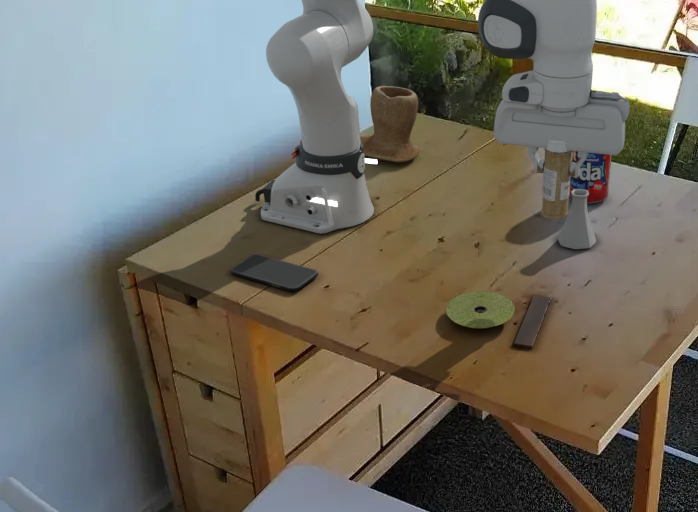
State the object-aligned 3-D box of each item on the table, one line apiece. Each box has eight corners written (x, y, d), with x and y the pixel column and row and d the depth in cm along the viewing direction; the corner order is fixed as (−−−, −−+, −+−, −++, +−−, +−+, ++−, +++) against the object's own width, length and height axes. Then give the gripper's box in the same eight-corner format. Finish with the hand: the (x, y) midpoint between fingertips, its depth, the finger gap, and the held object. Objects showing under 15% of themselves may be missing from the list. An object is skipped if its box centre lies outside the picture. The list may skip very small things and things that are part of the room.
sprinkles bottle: (572, 218, 152) (578, 139, 144) (545, 221, 151) (550, 142, 143) (563, 206, 155) (568, 128, 147) (536, 209, 154) (540, 131, 146)
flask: (594, 252, 172) (598, 202, 166) (555, 249, 173) (558, 199, 167) (597, 234, 178) (601, 185, 172) (559, 231, 179) (562, 182, 173)
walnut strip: (513, 346, 148) (513, 343, 147) (533, 298, 159) (533, 295, 159) (532, 349, 147) (532, 345, 147) (551, 300, 158) (551, 297, 158)
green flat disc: (501, 343, 148) (501, 332, 147) (435, 329, 152) (435, 319, 151) (523, 307, 157) (523, 297, 156) (460, 295, 160) (460, 286, 159)
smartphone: (254, 252, 172) (320, 270, 166) (255, 257, 173) (321, 275, 166) (227, 270, 167) (294, 289, 161) (228, 274, 167) (295, 294, 161)
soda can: (614, 195, 191) (620, 124, 182) (597, 209, 186) (603, 137, 177) (579, 186, 195) (584, 116, 186) (562, 200, 189) (566, 129, 181)
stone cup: (430, 151, 211) (428, 85, 202) (402, 170, 203) (399, 103, 194) (374, 139, 217) (370, 75, 208) (345, 157, 209) (339, 91, 200)
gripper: (633, 86, 141) (624, 172, 149) (501, 75, 145) (499, 159, 154) (628, 101, 136) (619, 189, 144) (491, 88, 140) (490, 174, 149)
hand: (556, 173), depth 149 cm, fingers closed on sprinkles bottle, 4 cm apart
